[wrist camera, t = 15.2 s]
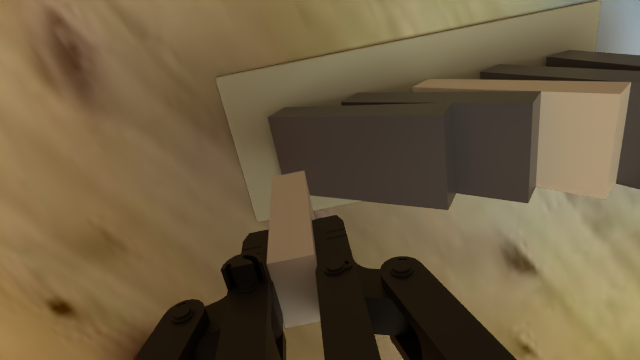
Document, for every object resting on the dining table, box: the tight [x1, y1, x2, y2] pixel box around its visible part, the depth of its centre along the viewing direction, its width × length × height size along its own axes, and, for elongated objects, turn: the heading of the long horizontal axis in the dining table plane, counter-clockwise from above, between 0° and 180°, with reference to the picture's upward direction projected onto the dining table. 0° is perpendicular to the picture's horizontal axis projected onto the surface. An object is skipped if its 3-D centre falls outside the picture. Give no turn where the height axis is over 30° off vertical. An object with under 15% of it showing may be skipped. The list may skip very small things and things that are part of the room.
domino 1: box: [268, 102, 456, 210], centre depth 22 cm, size 2×5×10 cm
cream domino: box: [412, 79, 631, 200], centre depth 21 cm, size 2×5×10 cm
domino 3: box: [546, 50, 640, 71], centre depth 21 cm, size 2×5×10 cm, turn 11°
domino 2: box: [341, 91, 541, 203], centre depth 22 cm, size 2×5×10 cm
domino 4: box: [480, 64, 640, 189], centre depth 21 cm, size 2×5×10 cm, turn 11°
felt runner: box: [215, 1, 601, 222], centre depth 26 cm, size 23×10×1 cm, turn 100°
